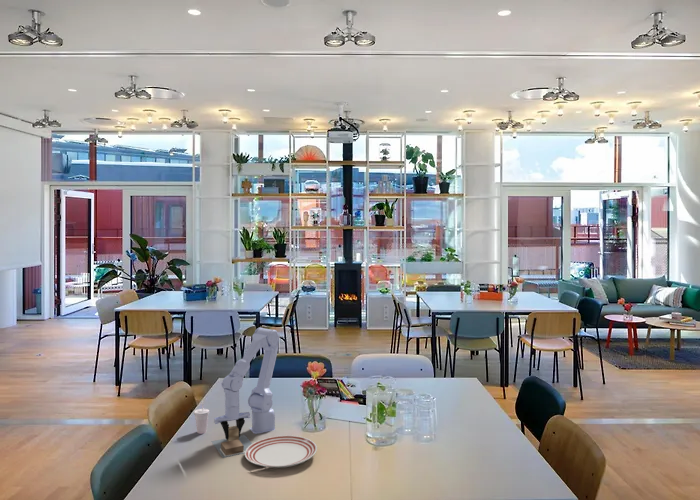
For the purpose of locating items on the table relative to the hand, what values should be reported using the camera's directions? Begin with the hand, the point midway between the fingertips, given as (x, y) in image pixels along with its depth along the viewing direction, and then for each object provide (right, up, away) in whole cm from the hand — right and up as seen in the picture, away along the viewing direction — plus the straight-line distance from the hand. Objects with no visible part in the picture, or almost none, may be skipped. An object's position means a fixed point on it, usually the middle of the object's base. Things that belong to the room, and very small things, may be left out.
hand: (232, 437), depth 218 cm
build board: (+2, -2, -6) cm, 6 cm away
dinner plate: (+22, -2, -15) cm, 27 cm away
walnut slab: (+2, -1, -10) cm, 10 cm away
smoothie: (-15, -2, +9) cm, 18 cm away
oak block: (0, -1, 0) cm, 1 cm away
